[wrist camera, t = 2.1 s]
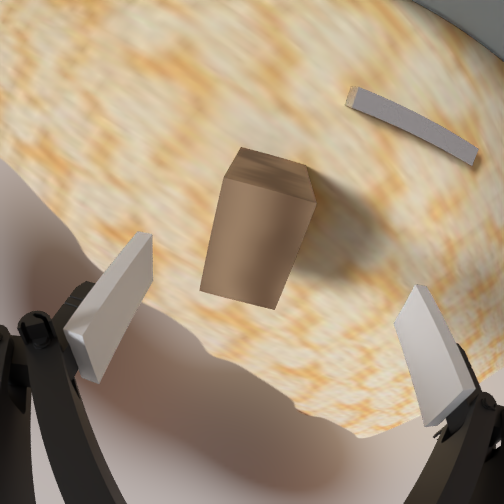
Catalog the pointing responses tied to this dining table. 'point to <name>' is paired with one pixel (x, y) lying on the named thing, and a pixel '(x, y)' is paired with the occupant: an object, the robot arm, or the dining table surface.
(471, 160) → the cleat rail
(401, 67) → the dining table surface
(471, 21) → the wall board
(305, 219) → the wooden box
